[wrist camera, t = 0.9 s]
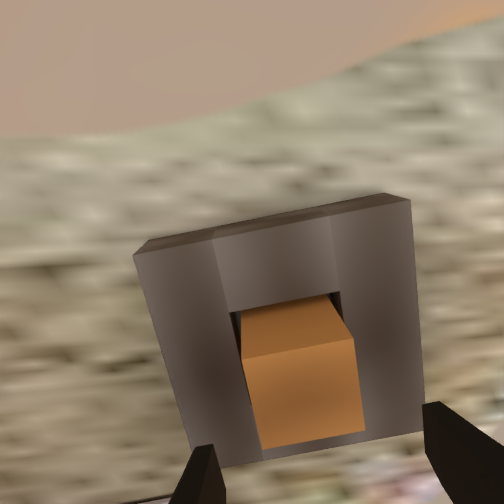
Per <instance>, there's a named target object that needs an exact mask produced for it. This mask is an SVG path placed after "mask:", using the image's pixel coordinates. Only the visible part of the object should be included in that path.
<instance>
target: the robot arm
mask: <svg viewBox="0 0 504 504" xmlns="http://www.w3.org/2000/svg"><path fill="white" fill-rule="evenodd" d="M422 417H423V430H424V443H425V453H426V455H427V457H428V459H429V461H430V463H431V465H432V467H433V469H434V471H435V473H436V475H437V477H438V479H439V481H440V483H441V485H442V486H443V488H444V489H445V491H446V493H447V494H448V496H449V497H450V499H451V500H452V502H453V504H504V446H502V445H501V444H500V443H498V442H497V441H495V440H494V439H492V438H491V437H489V436H488V435H486V434H485V433H484V432H482V431H481V430H479V429H478V428H476V427H475V426H474V425H472V424H471V423H469V422H468V421H467V420H465V419H464V418H462V417H461V416H460V415H458V414H457V413H456V412H454V411H453V410H451V409H450V408H449V407H447V406H446V405H444V404H443V403H441V402H440V401H438V402H432V403H427V404H422ZM139 504H226V487H225V484H224V480H223V477H222V473H221V470H220V466H219V463H218V459H217V455H216V452H215V448H214V445H213V444H208V445H202V446H197V447H195V448H194V450H193V452H192V454H191V457H190V459H189V461H188V464H187V466H186V468H185V470H184V472H183V475H182V477H181V479H180V481H179V483H178V485H177V487H176V489H175V491H174V493H173V495H172V497H171V498H166V499H160V500H155V501H149V502H144V503H139Z"/></svg>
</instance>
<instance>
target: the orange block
mask: <svg viewBox="0 0 504 504" xmlns="http://www.w3.org/2000/svg"><path fill="white" fill-rule="evenodd" d="M241 360H242V365H243V369H244V373H245V378H246V382H247V386H248V390H249V395H250V399H251V403H252V407H253V412H254V416H255V420H256V424H257V429H258V433H259V437H260V442H261V446H262V450H264V449H269V448H274V447H280V446H285V445H290V444H296V443H301V442H306V441H312V440H317V439H322V438H328V437H333V436H338V435H344V434H349V433H354V432H360V431H365V423H364V415H363V408H362V400H361V392H360V385H359V377H358V369H357V362H356V354H355V347H354V339H353V337H352V335H351V334H350V332H349V330H348V329H347V327H346V326H345V324H344V322H343V321H342V319H341V317H340V316H339V314H338V313H337V311H336V309H335V308H334V306H333V305H332V303H331V301H330V300H329V298H328V297H327V295H326V294H321V295H316V296H311V297H306V298H301V299H296V300H291V301H286V302H280V303H275V304H270V305H265V306H260V307H255V308H250V309H245V310H241Z"/></svg>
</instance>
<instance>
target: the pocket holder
mask: <svg viewBox="0 0 504 504" xmlns="http://www.w3.org/2000/svg"><path fill="white" fill-rule="evenodd" d="M133 259H134V262H135V265H136V269H137V272H138V275H139V279H140V282H141V285H142V288H143V292H144V295H145V298H146V302H147V305H148V308H149V312H150V315H151V318H152V321H153V325H154V328H155V331H156V335H157V338H158V341H159V345H160V348H161V351H162V354H163V358H164V361H165V364H166V368H167V371H168V374H169V377H170V381H171V384H172V387H173V391H174V394H175V397H176V401H177V404H178V407H179V410H180V414H181V417H182V420H183V424H184V427H185V430H186V434H187V437H188V440H189V443H190V447H191V450H192V452H193V450H194V448H195V447H197V446H202V445H208V444H213V445H214V448H215V452H216V455H217V459H218V463H219V466H220V469H222V468H227V467H232V466H238V465H243V464H248V463H254V462H259V461H264V460H270V459H275V458H280V457H286V456H291V455H296V454H302V453H307V452H312V451H318V450H323V449H329V448H334V447H339V446H345V445H350V444H355V443H361V442H366V441H371V440H377V439H382V438H387V437H393V436H398V435H403V434H409V433H414V432H419V431H424V430H423V417H422V404H425V392H424V378H423V364H422V350H421V337H420V323H419V309H418V295H417V281H416V267H415V254H414V240H413V226H412V212H411V200H410V199H406V198H402V197H398V196H394V195H391V194H387V193H381V194H376V195H371V196H366V197H361V198H356V199H351V200H346V201H341V202H336V203H331V204H326V205H321V206H316V207H311V208H306V209H301V210H297V211H292V212H287V213H282V214H277V215H272V216H267V217H262V218H257V219H252V220H247V221H242V222H237V223H232V224H227V225H222V226H217V227H212V228H207V229H202V230H197V231H192V232H187V233H182V234H177V235H172V236H167V237H162V238H157V239H152V240H148V241H147V242H146V243H145V244H144V245H143V246H142V247H141V248H140V249H139V250H138V251H137V252H136V253H135V254H133ZM321 294H326V295H327V297H328V298H329V300H330V301H331V303H332V305H333V306H334V308H335V309H336V311H337V313H338V314H339V316H340V317H341V319H342V321H343V322H344V324H345V326H346V327H347V329H348V330H349V332H350V334H351V335H352V337H353V339H354V347H355V354H356V362H357V369H358V377H359V385H360V392H361V400H362V408H363V415H364V423H365V431H360V432H354V433H349V434H344V435H338V436H333V437H328V438H322V439H317V440H312V441H306V442H301V443H296V444H290V445H285V446H280V447H274V448H269V449H264V450H262V446H261V442H260V437H259V433H258V429H257V424H256V420H255V416H254V412H253V407H252V403H251V399H250V395H249V390H248V386H247V382H246V378H245V373H244V369H243V365H242V360H241V310H245V309H250V308H255V307H260V306H265V305H270V304H275V303H280V302H286V301H291V300H296V299H301V298H306V297H311V296H316V295H321Z"/></svg>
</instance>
